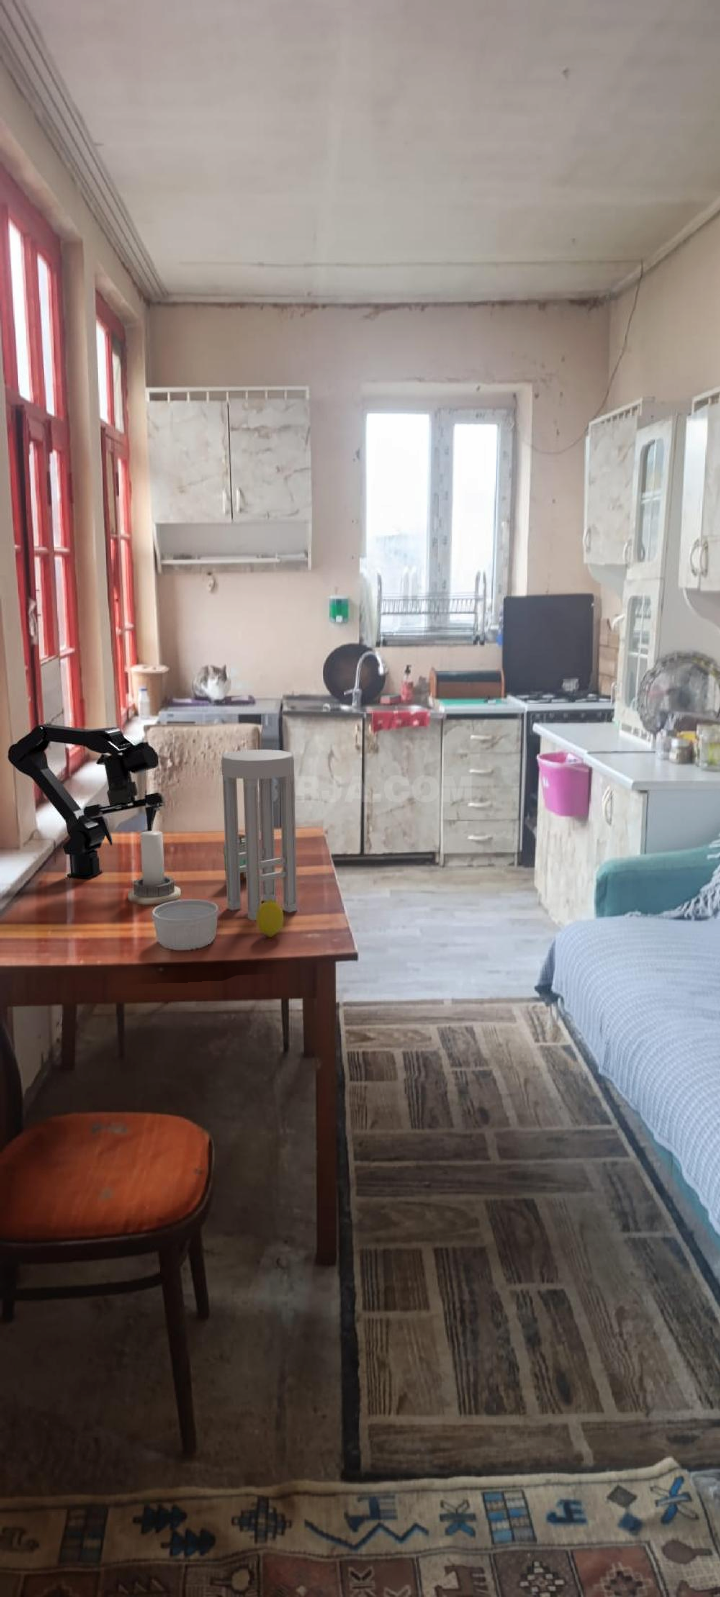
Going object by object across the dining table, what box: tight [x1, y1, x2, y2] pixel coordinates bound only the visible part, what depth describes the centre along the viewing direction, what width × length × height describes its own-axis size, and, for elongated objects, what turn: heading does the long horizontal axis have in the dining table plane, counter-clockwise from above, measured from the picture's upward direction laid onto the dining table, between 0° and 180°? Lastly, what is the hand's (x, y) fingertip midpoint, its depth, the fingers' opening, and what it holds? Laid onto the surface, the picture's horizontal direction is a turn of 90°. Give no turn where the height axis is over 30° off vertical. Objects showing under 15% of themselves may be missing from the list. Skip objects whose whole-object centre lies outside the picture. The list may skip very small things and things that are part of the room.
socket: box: [127, 876, 182, 906], centre depth 231 cm, size 12×12×4 cm
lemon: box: [255, 900, 285, 938], centre depth 202 cm, size 6×6×8 cm
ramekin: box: [151, 899, 219, 951], centre depth 201 cm, size 13×13×7 cm
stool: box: [221, 749, 298, 921], centre depth 218 cm, size 16×16×35 cm
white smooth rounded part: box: [139, 830, 166, 886], centre depth 230 cm, size 5×5×14 cm
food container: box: [222, 833, 247, 885], centre depth 244 cm, size 12×6×10 cm, turn 168°
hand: (130, 841), depth 238 cm, fingers open, 9 cm apart
